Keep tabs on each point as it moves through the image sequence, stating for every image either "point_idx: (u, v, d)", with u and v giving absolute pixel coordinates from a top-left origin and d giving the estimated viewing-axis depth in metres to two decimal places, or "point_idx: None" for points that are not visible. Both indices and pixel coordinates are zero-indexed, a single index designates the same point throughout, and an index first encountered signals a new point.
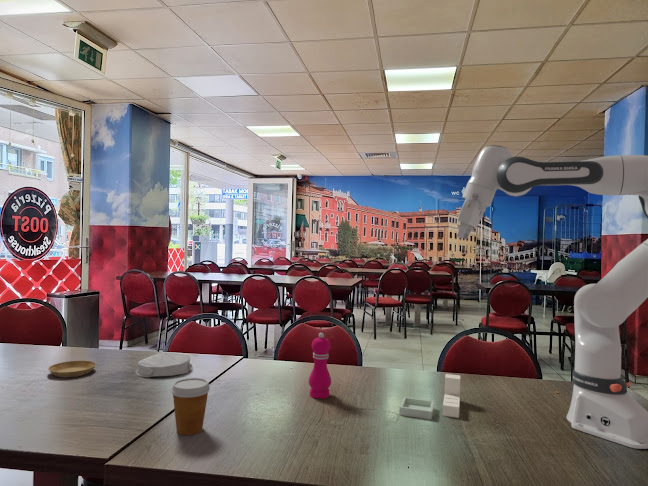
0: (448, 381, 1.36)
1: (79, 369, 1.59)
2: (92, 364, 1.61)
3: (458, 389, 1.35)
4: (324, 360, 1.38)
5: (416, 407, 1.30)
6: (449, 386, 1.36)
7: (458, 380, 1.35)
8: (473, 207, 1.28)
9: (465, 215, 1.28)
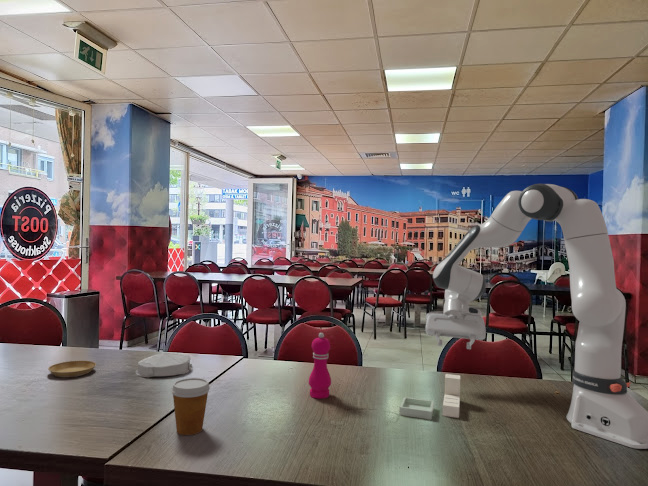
0: (448, 381, 1.36)
1: (79, 369, 1.59)
2: (92, 364, 1.61)
3: (458, 389, 1.35)
4: (324, 360, 1.38)
5: (416, 407, 1.30)
6: (449, 386, 1.36)
7: (458, 380, 1.35)
8: (427, 318, 1.58)
9: None
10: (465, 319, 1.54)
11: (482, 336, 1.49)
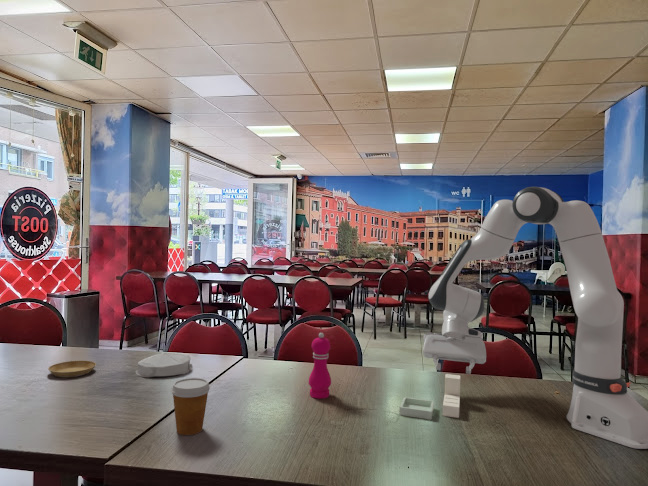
0: (448, 381, 1.36)
1: (79, 369, 1.59)
2: (92, 364, 1.61)
3: (458, 389, 1.35)
4: (324, 360, 1.38)
5: (416, 407, 1.30)
6: (449, 386, 1.36)
7: (458, 380, 1.35)
8: (425, 340, 1.50)
9: None
10: (464, 341, 1.47)
11: (482, 360, 1.42)
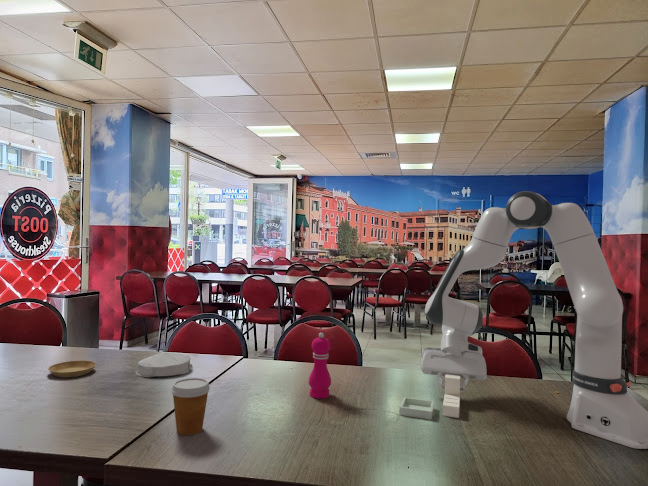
0: (448, 381, 1.36)
1: (79, 369, 1.59)
2: (92, 364, 1.61)
3: (458, 389, 1.35)
4: (324, 360, 1.38)
5: (416, 407, 1.30)
6: (449, 386, 1.36)
7: (458, 380, 1.35)
8: (423, 355, 1.46)
9: None
10: (464, 357, 1.42)
11: (483, 377, 1.37)
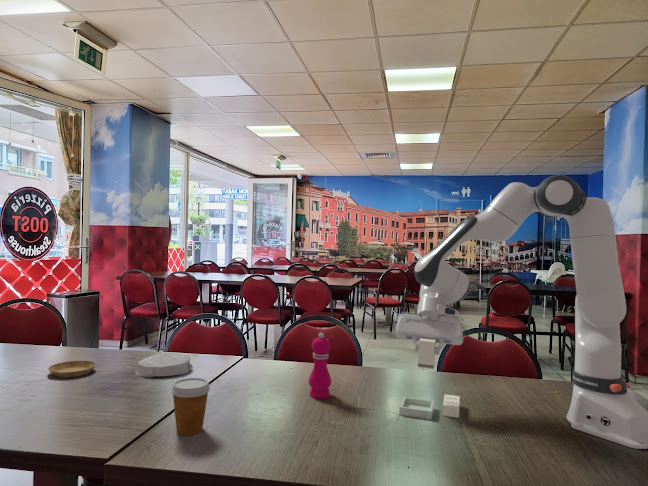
0: (422, 344, 1.30)
1: (79, 369, 1.59)
2: (92, 364, 1.61)
3: (432, 352, 1.29)
4: (324, 360, 1.38)
5: (416, 407, 1.30)
6: (423, 349, 1.30)
7: (432, 343, 1.29)
8: (398, 320, 1.40)
9: None
10: (440, 321, 1.35)
11: (459, 341, 1.31)
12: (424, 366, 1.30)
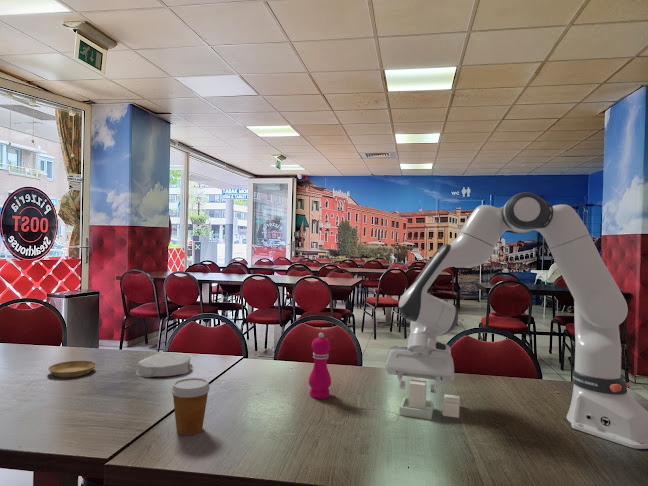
0: (413, 387, 1.27)
1: (79, 369, 1.59)
2: (92, 364, 1.61)
3: (423, 396, 1.26)
4: (324, 360, 1.38)
5: None
6: (413, 392, 1.27)
7: (423, 386, 1.26)
8: (389, 354, 1.37)
9: None
10: (431, 356, 1.33)
11: (450, 377, 1.28)
12: None
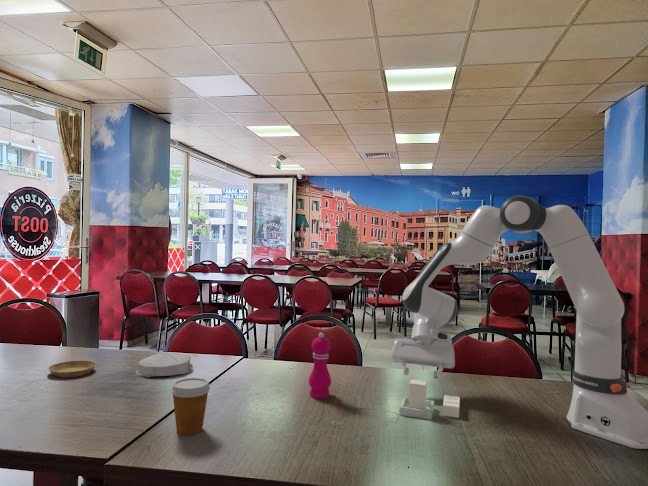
0: (413, 387, 1.27)
1: (79, 369, 1.59)
2: (92, 364, 1.61)
3: (423, 396, 1.26)
4: (324, 360, 1.38)
5: None
6: (413, 392, 1.27)
7: (423, 386, 1.26)
8: (394, 344, 1.48)
9: None
10: (433, 345, 1.44)
11: (451, 364, 1.39)
12: None
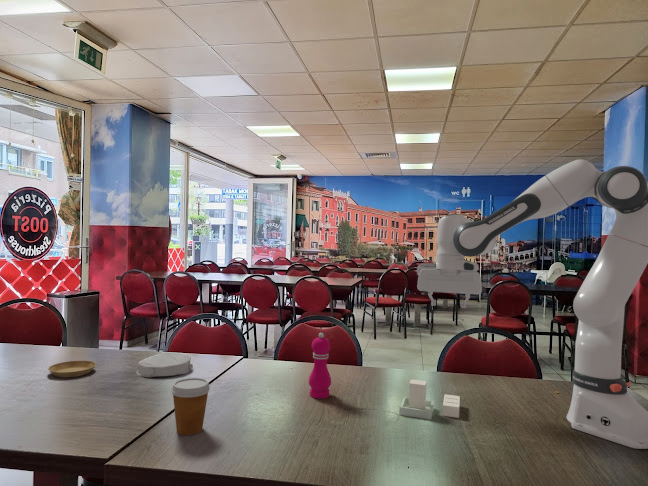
0: (413, 387, 1.27)
1: (79, 369, 1.59)
2: (92, 364, 1.61)
3: (423, 396, 1.26)
4: (324, 360, 1.38)
5: None
6: (413, 392, 1.27)
7: (423, 386, 1.26)
8: (419, 275, 1.44)
9: None
10: (460, 275, 1.40)
11: None
12: None
